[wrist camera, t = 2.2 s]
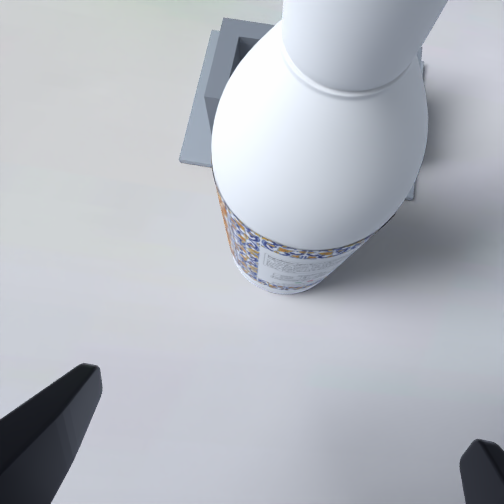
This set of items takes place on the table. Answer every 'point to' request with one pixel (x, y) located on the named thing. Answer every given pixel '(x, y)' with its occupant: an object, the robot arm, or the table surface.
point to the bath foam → (320, 136)
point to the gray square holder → (223, 85)
